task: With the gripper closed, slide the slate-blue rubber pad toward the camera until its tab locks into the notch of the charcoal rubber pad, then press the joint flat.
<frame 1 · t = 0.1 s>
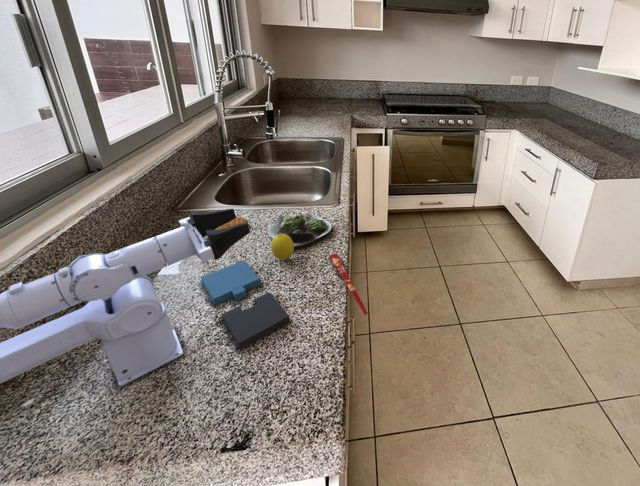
hand: (241, 220, 69), 22 cm above the counter, tool horizontal, fingers open, 7 cm apart
charcoal pad: (256, 321, 73), on the counter
blue pad: (231, 283, 83), on the counter
lemon: (285, 260, 92), on the counter
salad plate: (300, 234, 104), on the counter
pastry: (230, 228, 106), on the counter
chopstick: (348, 283, 84), on the counter
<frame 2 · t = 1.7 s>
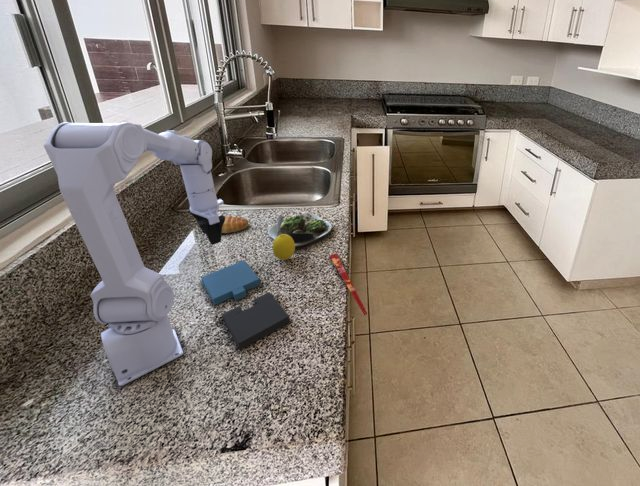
hand: (212, 237, 87), 8 cm above the counter, tool pointing down, fingers open, 6 cm apart
nothing on the counter moved.
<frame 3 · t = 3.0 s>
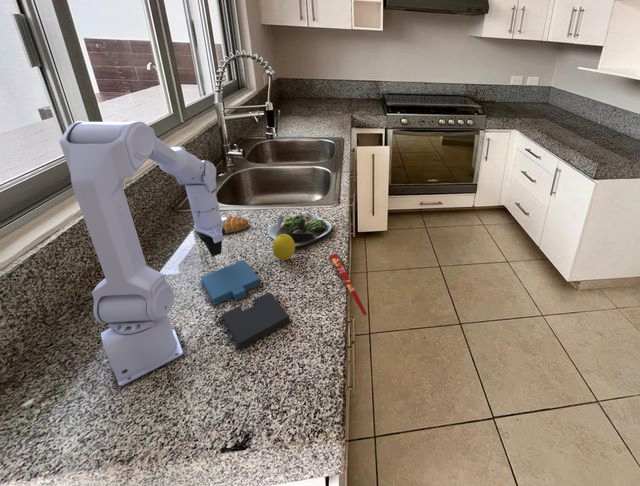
hand: (216, 253, 88), 3 cm above the counter, tool pointing down, fingers closed
nothing on the counter moved.
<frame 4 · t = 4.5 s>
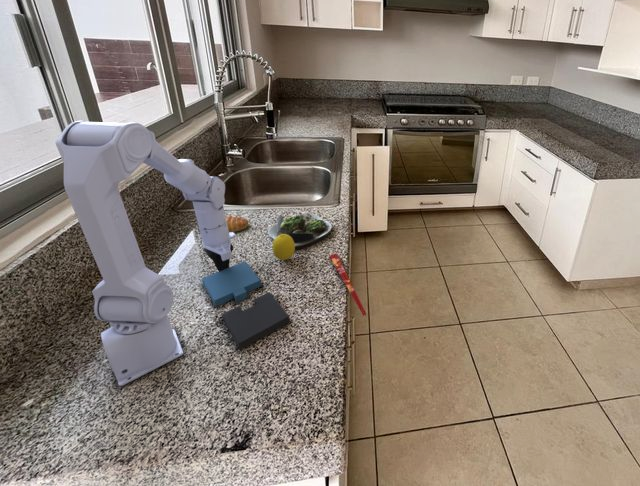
hand: (223, 270, 86), 1 cm above the counter, tool pointing down, fingers closed
blue pad: (232, 285, 83), on the counter, touching gripper
everything else where it was.
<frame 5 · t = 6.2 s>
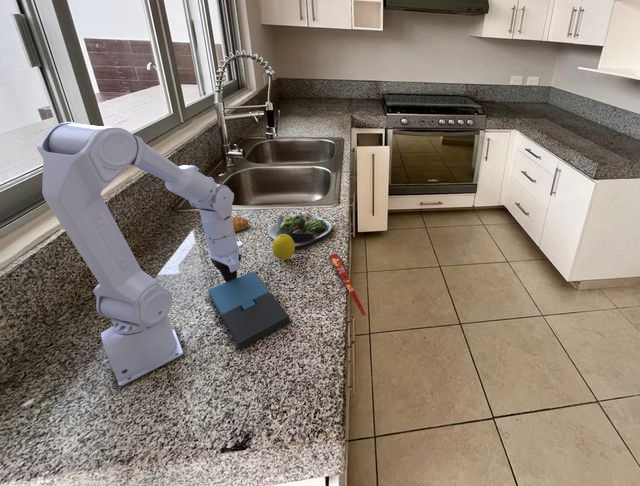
hand: (231, 280, 83), 1 cm above the counter, tool pointing down, fingers closed
charcoal pad: (256, 321, 73), on the counter, touching blue pad
blue pad: (240, 296, 79), on the counter, touching charcoal pad, gripper
everything else where it was.
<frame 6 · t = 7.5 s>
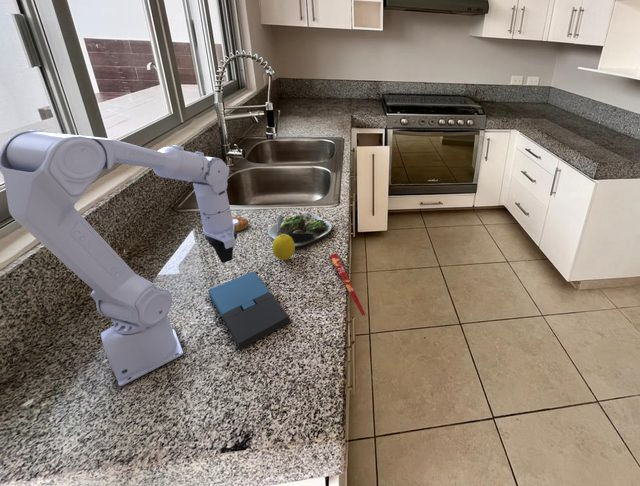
hand: (226, 260, 80), 7 cm above the counter, tool pointing down, fingers closed
blue pad: (240, 296, 79), on the counter, touching charcoal pad
everything else where it was.
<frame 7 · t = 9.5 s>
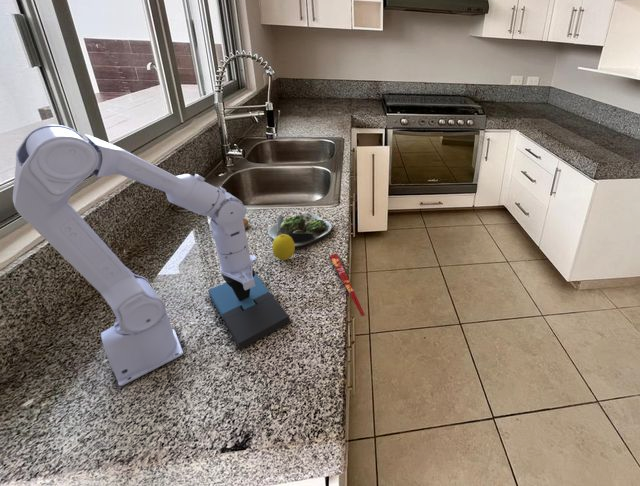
hand: (243, 297, 77), 2 cm above the counter, tool pointing down, fingers closed, pressing on blue pad
charcoal pad: (256, 321, 73), on the counter
blue pad: (240, 296, 79), on the counter, touching gripper
everything else where it was.
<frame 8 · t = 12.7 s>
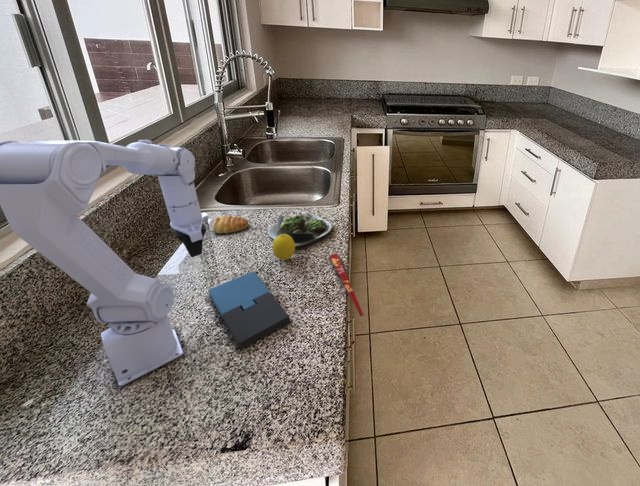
hand: (196, 254, 78), 9 cm above the counter, tool pointing down, fingers closed
charcoal pad: (256, 321, 73), on the counter, touching blue pad
blue pad: (240, 296, 79), on the counter, touching charcoal pad
everything else where it was.
at the end: blue pad 0.2 cm from the target spot on the counter beside the charcoal pad, on the counter; blue pad touching charcoal pad, counter; blue pad tilted 0° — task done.
